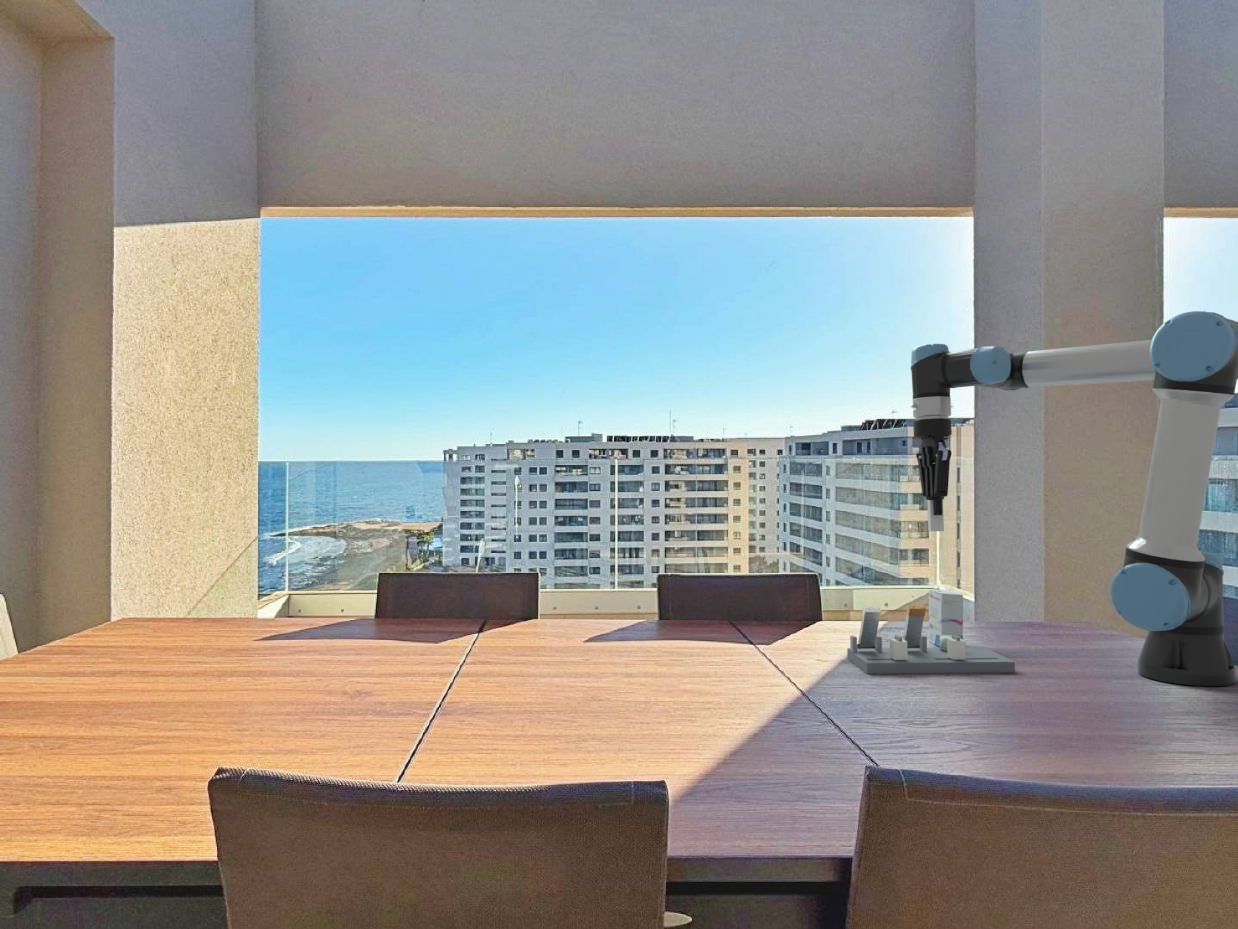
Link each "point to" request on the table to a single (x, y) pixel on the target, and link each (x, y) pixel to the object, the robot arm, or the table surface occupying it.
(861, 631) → the toggle
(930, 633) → the ink box
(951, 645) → the slider
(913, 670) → the panel
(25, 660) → the table surface
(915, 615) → the toggle
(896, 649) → the slider
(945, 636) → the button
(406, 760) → the table surface
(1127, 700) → the table surface
